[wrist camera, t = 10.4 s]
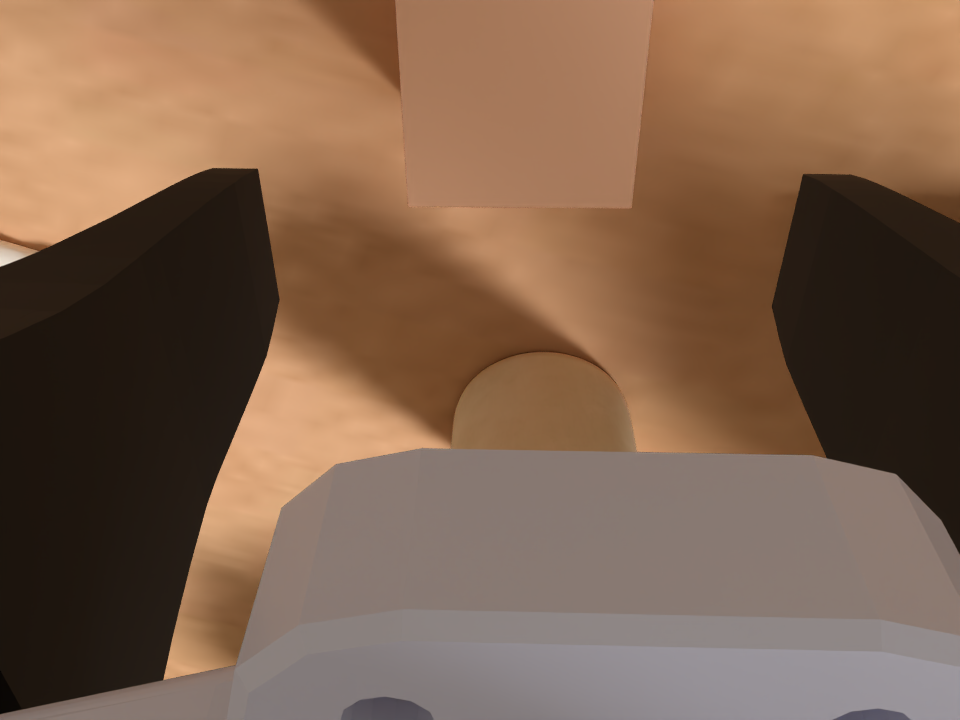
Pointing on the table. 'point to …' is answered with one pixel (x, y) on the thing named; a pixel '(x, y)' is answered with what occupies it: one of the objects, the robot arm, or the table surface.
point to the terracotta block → (522, 101)
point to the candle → (543, 407)
